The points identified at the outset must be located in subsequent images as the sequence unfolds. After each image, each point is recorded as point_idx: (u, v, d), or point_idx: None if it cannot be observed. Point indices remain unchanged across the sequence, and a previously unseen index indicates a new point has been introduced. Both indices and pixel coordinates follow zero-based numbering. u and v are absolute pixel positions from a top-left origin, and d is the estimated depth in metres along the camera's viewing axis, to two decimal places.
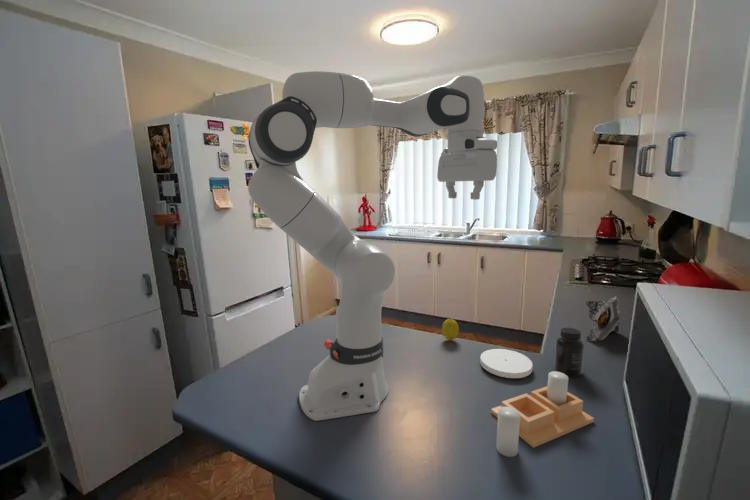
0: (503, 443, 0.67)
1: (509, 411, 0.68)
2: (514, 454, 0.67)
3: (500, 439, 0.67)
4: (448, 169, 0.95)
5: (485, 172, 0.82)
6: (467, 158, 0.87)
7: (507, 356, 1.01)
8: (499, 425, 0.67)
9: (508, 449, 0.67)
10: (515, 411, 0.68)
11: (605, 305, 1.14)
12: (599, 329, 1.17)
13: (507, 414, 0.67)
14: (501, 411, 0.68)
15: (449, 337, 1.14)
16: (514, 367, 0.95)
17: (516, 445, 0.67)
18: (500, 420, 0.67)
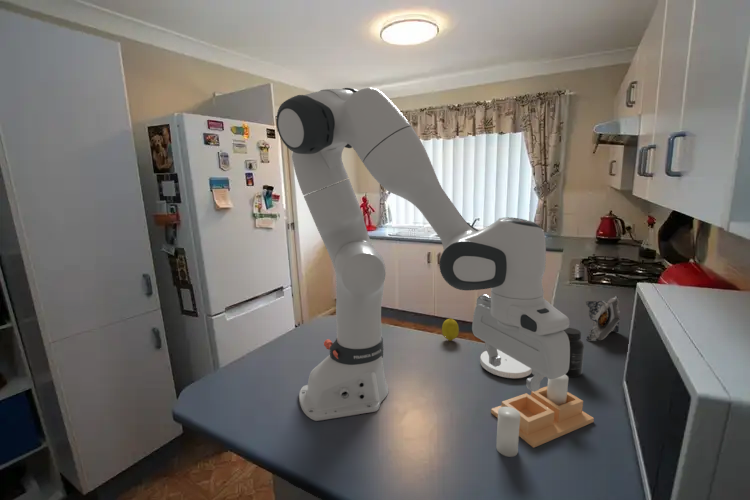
0: (503, 443, 0.67)
1: (509, 411, 0.68)
2: (514, 454, 0.67)
3: (500, 439, 0.67)
4: (489, 329, 0.68)
5: (554, 372, 0.55)
6: (522, 334, 0.60)
7: (507, 356, 1.01)
8: (499, 425, 0.67)
9: (508, 449, 0.67)
10: (515, 411, 0.68)
11: (605, 305, 1.14)
12: (599, 329, 1.17)
13: (507, 414, 0.67)
14: (501, 411, 0.68)
15: (449, 337, 1.14)
16: (514, 367, 0.95)
17: (516, 445, 0.67)
18: (500, 420, 0.67)
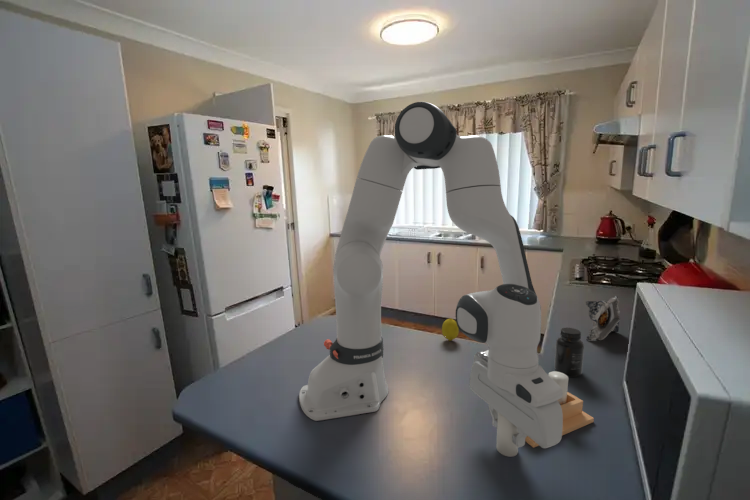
0: (503, 443, 0.67)
1: None
2: (514, 454, 0.67)
3: (500, 439, 0.67)
4: (486, 388, 0.70)
5: (547, 442, 0.57)
6: (518, 400, 0.63)
7: None
8: (499, 425, 0.67)
9: (508, 449, 0.67)
10: None
11: (605, 305, 1.14)
12: (599, 329, 1.17)
13: None
14: None
15: (449, 337, 1.14)
16: None
17: None
18: (500, 420, 0.67)
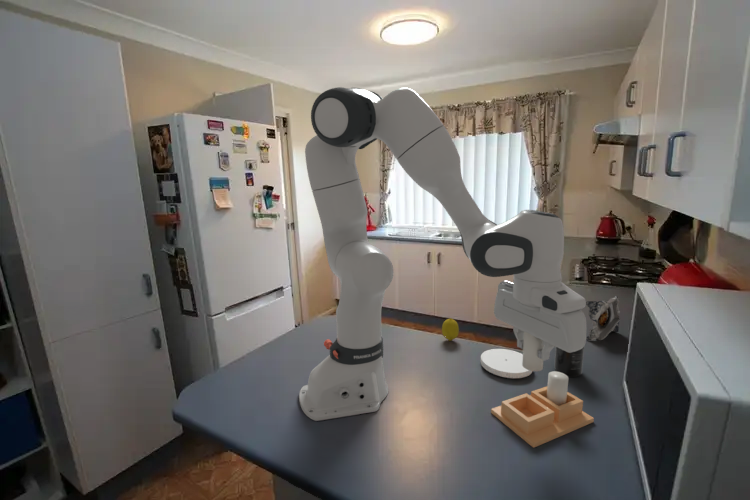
0: (530, 358, 0.72)
1: None
2: (540, 369, 0.72)
3: (526, 355, 0.72)
4: (511, 311, 0.75)
5: (572, 345, 0.62)
6: (543, 314, 0.67)
7: (507, 356, 1.01)
8: (525, 342, 0.72)
9: (534, 364, 0.72)
10: None
11: (605, 305, 1.14)
12: (599, 329, 1.17)
13: None
14: None
15: (449, 337, 1.14)
16: (515, 367, 0.95)
17: (542, 360, 0.72)
18: (526, 338, 0.72)
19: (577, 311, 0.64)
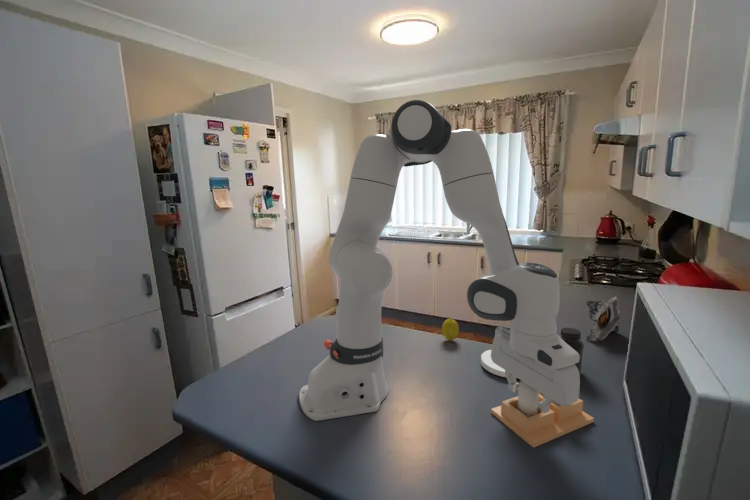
0: (524, 412, 0.74)
1: None
2: None
3: (521, 409, 0.75)
4: (507, 358, 0.77)
5: (566, 400, 0.64)
6: (538, 365, 0.69)
7: None
8: (520, 396, 0.75)
9: (528, 417, 0.74)
10: None
11: (605, 305, 1.14)
12: (599, 329, 1.17)
13: (527, 386, 0.74)
14: (522, 384, 0.75)
15: (449, 337, 1.14)
16: None
17: (535, 414, 0.74)
18: (521, 392, 0.74)
19: (571, 366, 0.66)
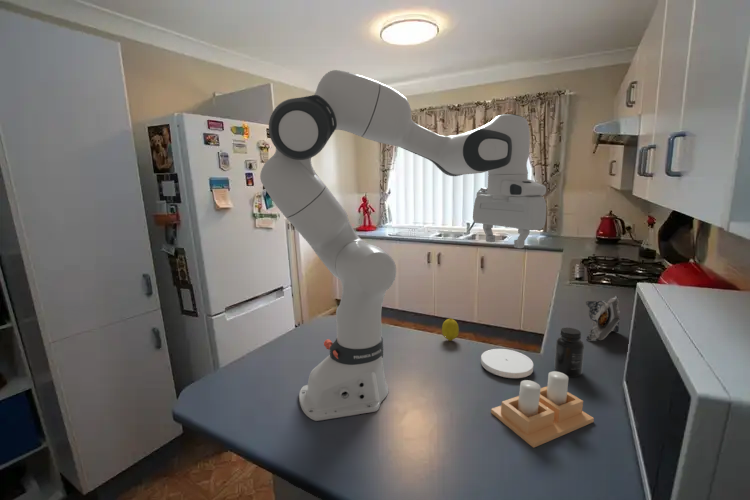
0: (525, 412, 0.74)
1: (530, 384, 0.75)
2: None
3: (522, 409, 0.75)
4: (486, 211, 0.87)
5: (533, 222, 0.74)
6: (511, 203, 0.79)
7: (507, 356, 1.01)
8: (521, 396, 0.74)
9: None
10: (535, 384, 0.75)
11: (605, 305, 1.14)
12: (599, 329, 1.17)
13: (529, 386, 0.74)
14: (523, 384, 0.75)
15: (449, 337, 1.14)
16: (515, 367, 0.95)
17: (536, 414, 0.74)
18: (522, 392, 0.74)
19: (539, 196, 0.76)
